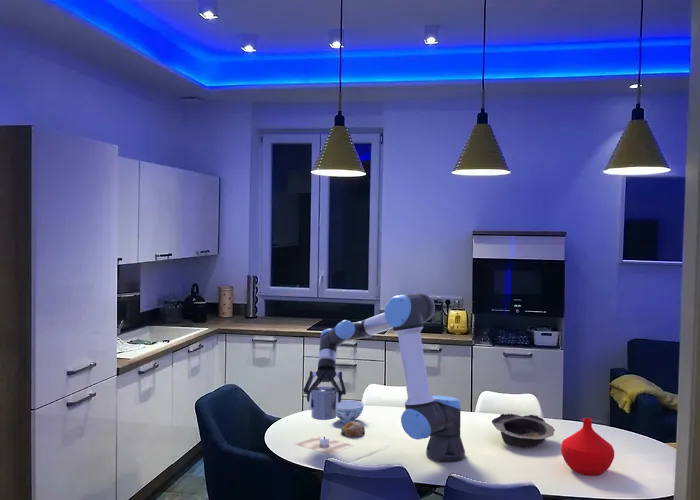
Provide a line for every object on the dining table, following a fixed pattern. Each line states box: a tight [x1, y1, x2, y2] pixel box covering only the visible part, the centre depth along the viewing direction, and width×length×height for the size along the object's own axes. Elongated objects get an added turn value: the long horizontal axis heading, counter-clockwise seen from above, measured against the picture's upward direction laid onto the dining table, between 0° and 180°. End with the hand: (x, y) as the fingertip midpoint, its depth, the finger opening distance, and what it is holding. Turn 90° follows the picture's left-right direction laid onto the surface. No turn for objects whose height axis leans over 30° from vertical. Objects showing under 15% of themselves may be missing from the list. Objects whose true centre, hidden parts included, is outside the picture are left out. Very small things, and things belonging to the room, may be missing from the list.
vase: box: [560, 417, 615, 477], centre depth 228 cm, size 18×18×19 cm
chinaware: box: [336, 399, 365, 424], centre depth 291 cm, size 15×15×8 cm
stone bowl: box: [491, 413, 556, 449], centre depth 260 cm, size 25×25×9 cm
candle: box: [320, 436, 330, 446], centre depth 255 cm, size 4×4×3 cm
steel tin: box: [311, 386, 337, 421], centre depth 255 cm, size 10×10×11 cm
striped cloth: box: [294, 435, 355, 456], centre depth 255 cm, size 20×14×1 cm
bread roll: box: [340, 421, 366, 438], centre depth 269 cm, size 10×10×8 cm
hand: (323, 408), depth 252 cm, fingers closed on steel tin, 10 cm apart
